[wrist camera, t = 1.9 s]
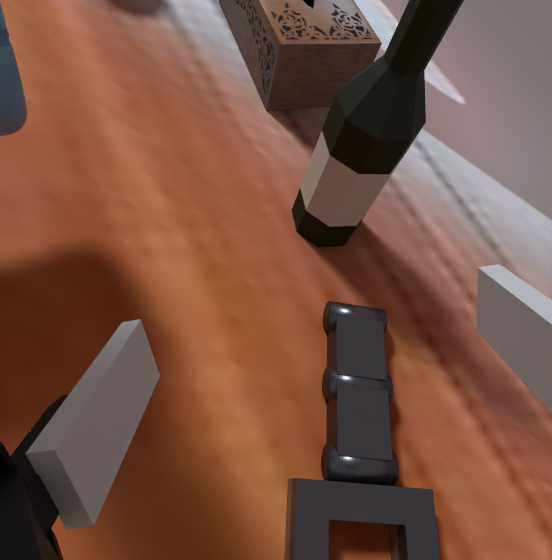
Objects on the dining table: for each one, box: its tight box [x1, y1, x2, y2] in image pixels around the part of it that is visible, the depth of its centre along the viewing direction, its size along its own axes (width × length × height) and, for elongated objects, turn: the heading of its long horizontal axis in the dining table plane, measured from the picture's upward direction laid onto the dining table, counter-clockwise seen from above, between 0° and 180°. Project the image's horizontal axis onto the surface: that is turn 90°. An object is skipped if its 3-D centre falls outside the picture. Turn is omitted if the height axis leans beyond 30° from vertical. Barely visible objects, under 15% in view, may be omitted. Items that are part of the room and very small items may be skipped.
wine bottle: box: [292, 0, 464, 247], centre depth 36 cm, size 8×8×30 cm
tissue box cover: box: [219, 0, 382, 111], centre depth 60 cm, size 26×14×10 cm, turn 18°
